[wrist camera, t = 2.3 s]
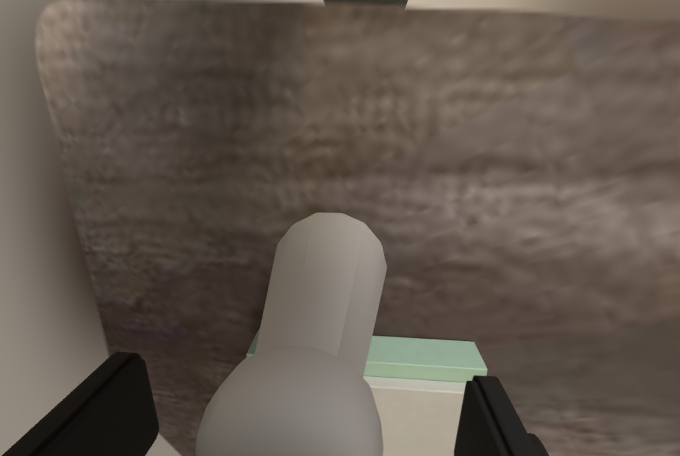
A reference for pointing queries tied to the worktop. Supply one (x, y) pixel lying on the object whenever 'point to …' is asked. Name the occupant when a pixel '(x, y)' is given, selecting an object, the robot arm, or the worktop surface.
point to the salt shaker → (307, 352)
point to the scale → (418, 391)
